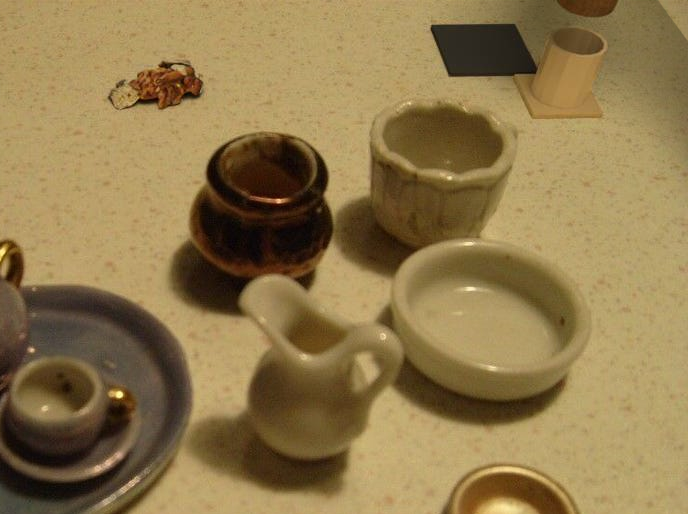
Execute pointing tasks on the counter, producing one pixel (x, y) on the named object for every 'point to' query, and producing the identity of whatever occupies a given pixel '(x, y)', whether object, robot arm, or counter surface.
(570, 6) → the mortar and pestle
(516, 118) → the counter surface
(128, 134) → the counter surface
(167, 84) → the pastry
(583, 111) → the cream mat
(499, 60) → the slate mat
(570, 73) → the cream cup
